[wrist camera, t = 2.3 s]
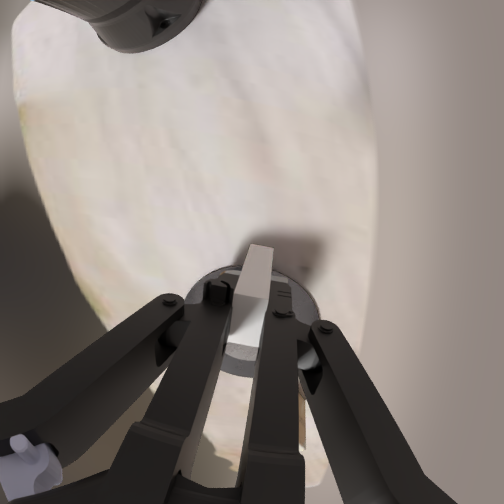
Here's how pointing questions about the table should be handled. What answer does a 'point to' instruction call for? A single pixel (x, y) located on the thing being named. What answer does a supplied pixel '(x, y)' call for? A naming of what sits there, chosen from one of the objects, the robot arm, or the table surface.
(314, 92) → the table surface
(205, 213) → the table surface
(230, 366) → the platter
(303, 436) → the box
